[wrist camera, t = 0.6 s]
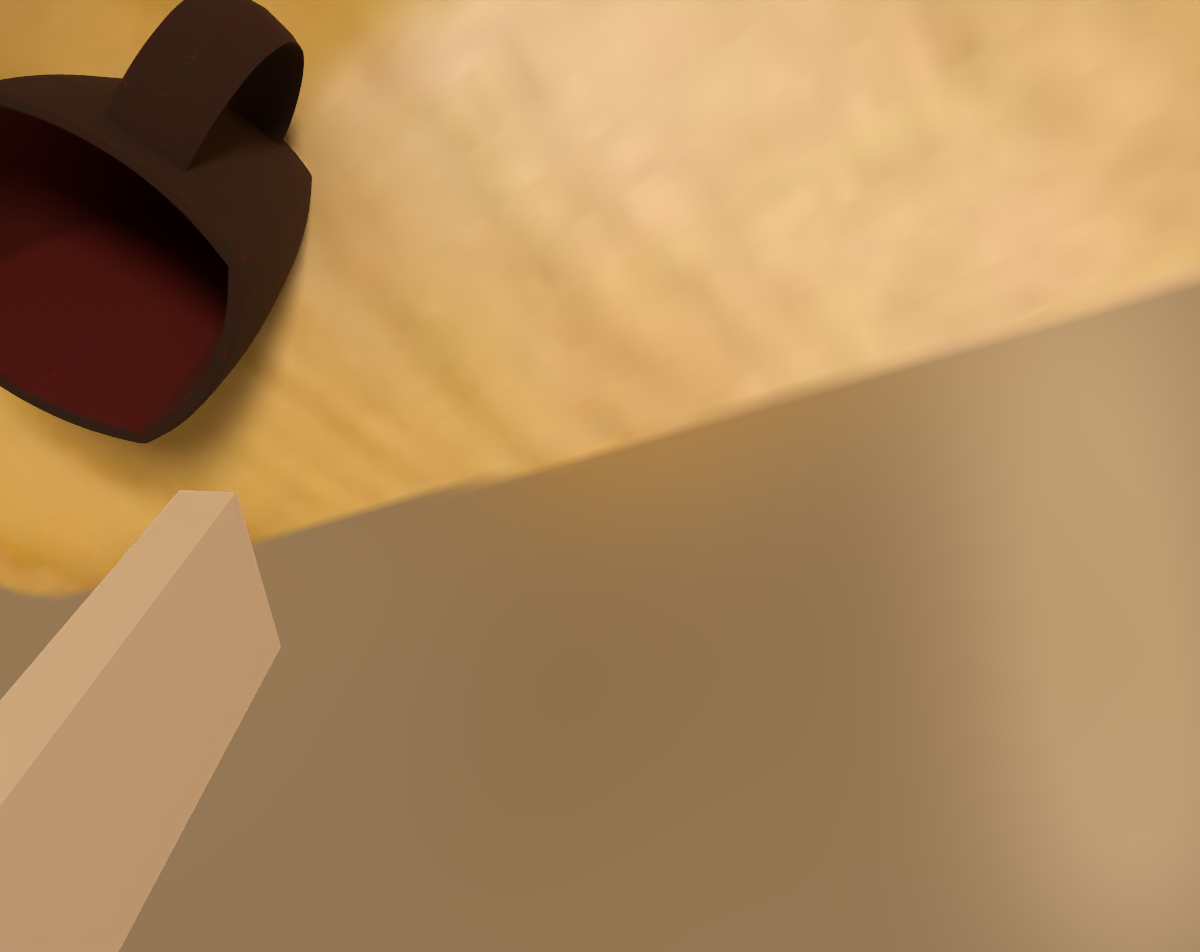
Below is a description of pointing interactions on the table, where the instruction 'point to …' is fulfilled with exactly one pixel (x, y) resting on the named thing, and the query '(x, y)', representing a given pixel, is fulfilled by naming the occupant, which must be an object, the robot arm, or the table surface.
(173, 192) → the cup
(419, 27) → the table surface
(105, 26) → the table surface
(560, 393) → the table surface
